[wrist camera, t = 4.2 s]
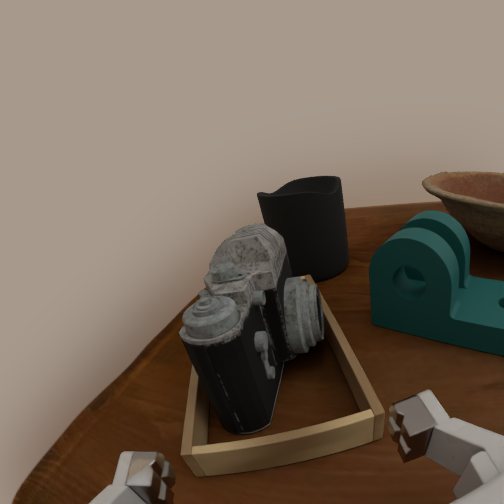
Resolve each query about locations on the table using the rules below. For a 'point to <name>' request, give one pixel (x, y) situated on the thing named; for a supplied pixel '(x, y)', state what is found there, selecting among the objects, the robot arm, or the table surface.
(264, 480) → the table surface
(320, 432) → the rectangular wooden frame
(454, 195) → the bowl
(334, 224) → the pen holder
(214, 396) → the camera
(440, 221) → the bracket
